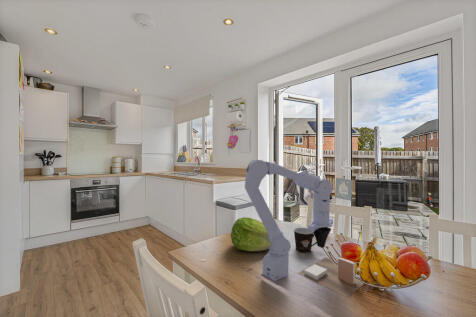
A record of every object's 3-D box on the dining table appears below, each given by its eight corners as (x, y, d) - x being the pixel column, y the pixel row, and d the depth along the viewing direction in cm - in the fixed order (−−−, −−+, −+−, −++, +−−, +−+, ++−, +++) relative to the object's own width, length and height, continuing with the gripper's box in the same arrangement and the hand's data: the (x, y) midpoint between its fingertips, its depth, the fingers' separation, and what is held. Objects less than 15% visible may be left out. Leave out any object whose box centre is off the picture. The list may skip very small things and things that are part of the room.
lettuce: (278, 262, 91) (283, 228, 93) (224, 248, 99) (230, 216, 100) (281, 252, 108) (285, 223, 109) (235, 240, 115) (239, 213, 116)
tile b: (352, 284, 72) (353, 264, 72) (338, 278, 76) (338, 258, 76) (354, 283, 74) (355, 262, 73) (340, 276, 77) (340, 257, 77)
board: (348, 301, 66) (348, 297, 66) (297, 276, 80) (297, 273, 80) (372, 278, 78) (372, 275, 78) (325, 260, 92) (325, 257, 92)
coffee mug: (291, 253, 98) (292, 232, 98) (295, 246, 106) (296, 226, 106) (319, 259, 93) (319, 236, 93) (321, 251, 101) (321, 230, 100)
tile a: (327, 273, 79) (316, 280, 75) (314, 268, 83) (304, 274, 79) (327, 269, 79) (317, 275, 75) (314, 264, 83) (304, 270, 79)
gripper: (321, 216, 73) (320, 255, 73) (341, 209, 83) (340, 245, 83) (303, 212, 79) (302, 249, 79) (323, 206, 88) (323, 239, 88)
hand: (320, 246), depth 81 cm, fingers closed
